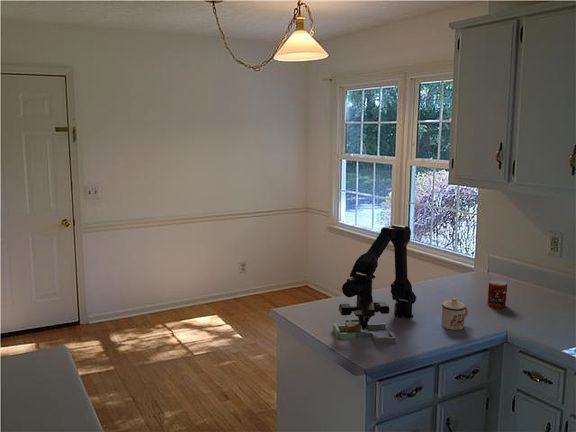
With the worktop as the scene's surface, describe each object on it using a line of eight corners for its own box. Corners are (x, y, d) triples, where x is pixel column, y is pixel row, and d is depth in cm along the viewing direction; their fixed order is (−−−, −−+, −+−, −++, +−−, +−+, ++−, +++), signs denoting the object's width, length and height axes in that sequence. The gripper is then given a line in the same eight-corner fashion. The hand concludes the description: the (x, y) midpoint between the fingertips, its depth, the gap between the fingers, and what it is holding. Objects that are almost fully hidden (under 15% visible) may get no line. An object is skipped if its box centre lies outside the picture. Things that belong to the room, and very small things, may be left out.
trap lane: (381, 322, 222) (381, 315, 221) (395, 342, 202) (396, 335, 201) (330, 324, 219) (330, 317, 219) (340, 345, 200) (340, 337, 199)
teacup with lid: (451, 332, 212) (453, 303, 210) (436, 324, 220) (437, 296, 218) (474, 327, 217) (476, 299, 215) (458, 319, 225) (460, 292, 223)
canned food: (486, 307, 240) (488, 283, 238) (487, 301, 247) (489, 278, 245) (505, 309, 237) (507, 285, 235) (505, 303, 244) (507, 280, 242)
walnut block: (357, 331, 213) (357, 321, 212) (360, 336, 208) (361, 326, 207) (345, 331, 212) (345, 322, 212) (348, 336, 208) (348, 326, 207)
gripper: (344, 299, 199) (344, 339, 202) (394, 297, 201) (392, 336, 204) (338, 289, 210) (338, 327, 213) (385, 287, 212) (384, 325, 214)
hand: (363, 329), depth 210 cm, fingers closed
